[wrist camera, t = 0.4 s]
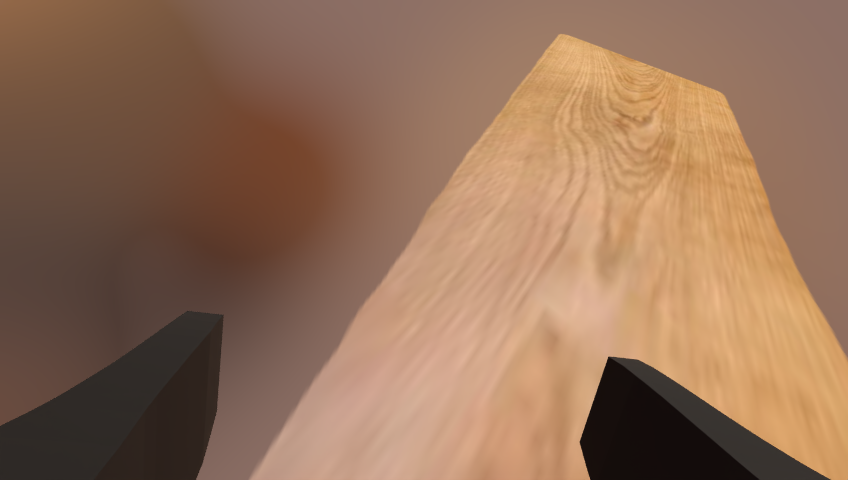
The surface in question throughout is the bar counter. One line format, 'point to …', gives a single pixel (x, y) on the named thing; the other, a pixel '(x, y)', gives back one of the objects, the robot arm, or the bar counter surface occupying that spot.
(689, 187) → the bar counter surface
